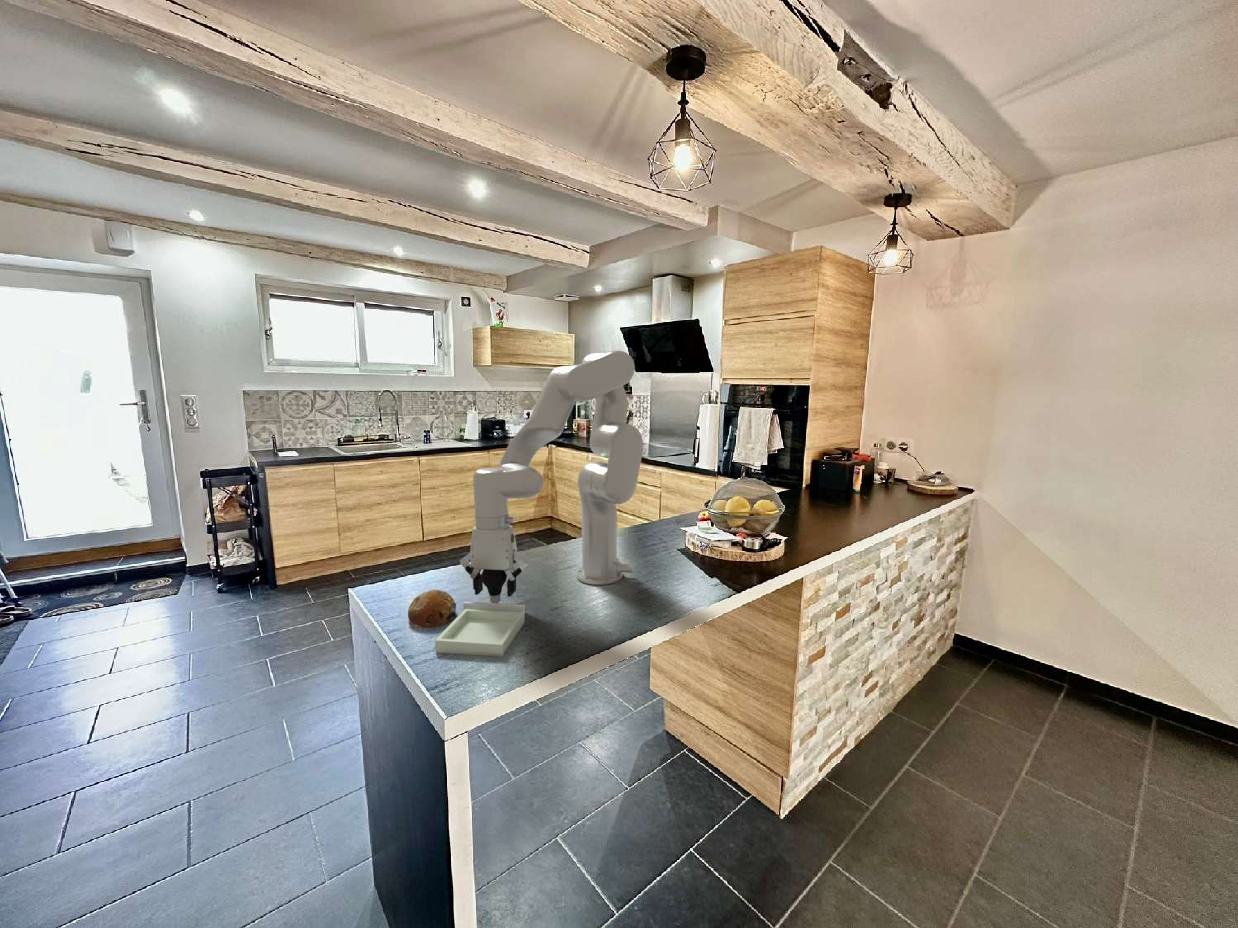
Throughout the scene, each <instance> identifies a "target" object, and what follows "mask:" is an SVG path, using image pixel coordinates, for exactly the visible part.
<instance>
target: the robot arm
mask: <svg viewBox="0 0 1238 928" xmlns="http://www.w3.org/2000/svg"><path fill="white" fill-rule="evenodd" d="M635 370H636V368H635V362H634V359H633V358H632V356H631V355H630V354H628V353H627V352H625V351H623V350H607V351H599V352H592V353H589V354H587V355H585V357H584V358H583V359H582V361H581V363H579V364H573V365H561V366H558V367H555V368H554V369H552V370H551V371H550V373H549V375H548V377H547V379H546V381H545V383H544V385H543V388H542V389H541V392H540V393H539V397H538V399H537V401H536V404H535V405H534V407H533V410H532V412H531V414H530V416H529V418H528V420H527V421H526V422H525V424H524V425H523V426H522V427H521V428H520V429H519V431H518V432H517V433H515V436H514V437H513V438H512V439H511V441H510V442H509V444H508V445H507V447H506V448H505V451H504V453H503V455H502V457H501V460H500V462H499V465H498V467H484V468H479V469H477V470H476V471H474V473H473V475H472V476H473V478H472V481H473V482H472V483H473V502H474V504H473V505H474V522H475V524H474V526H473V528H472V533H471V538H470V539H471V540H470V552H468V554H466V555H465V556H464V557H463V558H461V559H460V560H459V564H460V565H461V566H462V567H463V568H464V570H465V572H466V573H467V574H468V575H470V576H469V577H470V579H472V587H473V589H472V590H474V595H475V596H478V595H480V594H481V592H482V591H483V590H484V584H483V582H482V572H481V571H483V570H504V571H505V573H506V574H507V580H506V591H507V592H506V593H507V597H512V596H513V594H514V593H516V591H517V577H518V576H519V575H520V574H521V573H522V572H523V571H524V570H525V568H526V567H527V566H528V565H529V562H528V561H527V559H525V558H524V557H523V556H522V555H520V554H519V553H518V549H517V541H516V536H515V532H514V531H515V530H514V526H513V525H511V524H515V517H514V516H510V513H509V500H510V499H531V498H534V497H536V496H537V495H539V494H540V492H541V491H542V489H543V486H544V478H543V476H542V474H541V472H540V471H538V469H535V468H534V467H531V466H530V465H531V462H532V460H533V458H534V457H535V455H536V454H537V453H538V451H539V450H541V448H542V447H544V446H545V445H546V444H548V443H550V442H552V441H555V439H557V438H559V437H560V436H561V435H562V433H563V431H564V429H565V427H566V424H567V422H568V419H569V417H570V416H571V415H570V414H571V412H572V410H573V408H574V406H575V405H576V404H575V403H576V402H587V401H590V400H592V399H593V400H594V399H595V405H594V406H595V407H594V413H593V414H594V415H593V420H592V426H591V431H590V437H589V447H590V450H591V451H592V453H593V454H594V455H596V456H599V457H602V458H605V459H607V462H604V461H603V462H602V461H591V462H588V463H586V464H585V465H584V466H583V467H581V468H580V471H579V473H578V476H577V486H578V487H577V488H578V491H579V492H578V493H579V494H578V495H579V498H580V504H581V507H580V508H581V567H580V568H578V570H577V571H576V578H577V580H578V581H580V582H582V583H584V584H588V585H593V586H594V585H595V586H596V585H600V586H603V585H610V584H614V583H616V582H618V581H620V580H621V579H622V578H623V573H626V574H633V573H634V565H630V563H627V562H626V563H623V562H621V561H620V557H618V512H617V511H618V510H617V505H623V504H625V503H627V502H628V501H630V500H631V498H632V497H633V495H634V493H635V492H636V487H637V486H638V485H637V484H638V479H639V474H640V468H641V463H642V456H643V453H644V442H643V441H644V440H643V437H642V434H641V432H640V430H639V428H637V427H636V426H635V425H632V424H630V423H626V422H627V414H628V407H629V406H628V404H629V402H628V397H627V396H628V395H627V392H626V390H625V387H624V386H625V385H626V384H628V383H629V382H630V381H632V378H633V377H634V374H635ZM516 564H518V567H517V569H516V568H515V566H514V565H516Z"/></svg>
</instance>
